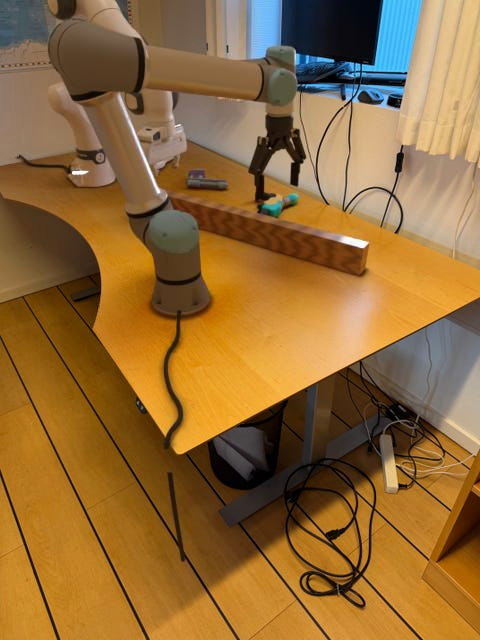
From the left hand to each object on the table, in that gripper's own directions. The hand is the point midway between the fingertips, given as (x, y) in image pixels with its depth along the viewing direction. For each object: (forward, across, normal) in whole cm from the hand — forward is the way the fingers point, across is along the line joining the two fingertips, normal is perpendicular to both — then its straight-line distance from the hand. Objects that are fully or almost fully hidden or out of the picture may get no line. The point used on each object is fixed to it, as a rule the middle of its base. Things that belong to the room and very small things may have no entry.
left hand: (166, 171), depth 161 cm
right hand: (-2, +1, +44) cm, 45 cm away
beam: (+16, 0, +33) cm, 37 cm away
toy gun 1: (+16, -33, -8) cm, 37 cm away
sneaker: (+16, -41, -43) cm, 62 cm away
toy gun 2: (+16, -23, +27) cm, 39 cm away
